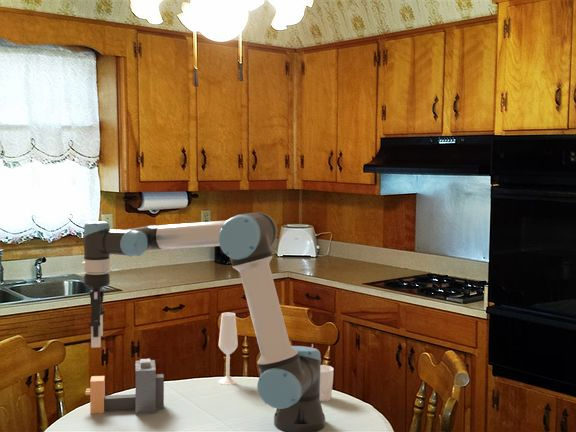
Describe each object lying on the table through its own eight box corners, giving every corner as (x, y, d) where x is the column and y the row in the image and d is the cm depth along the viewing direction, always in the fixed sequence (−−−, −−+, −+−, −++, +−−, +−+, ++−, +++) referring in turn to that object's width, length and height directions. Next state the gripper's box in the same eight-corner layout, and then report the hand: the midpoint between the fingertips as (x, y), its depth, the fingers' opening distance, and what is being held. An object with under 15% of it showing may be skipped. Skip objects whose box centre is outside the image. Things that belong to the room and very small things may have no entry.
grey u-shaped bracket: (154, 401, 232) (154, 355, 231) (155, 413, 221) (155, 365, 220) (135, 402, 231) (135, 356, 229) (135, 414, 220) (135, 366, 219)
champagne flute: (217, 384, 250) (218, 316, 248) (218, 378, 256) (219, 311, 254) (236, 384, 250) (237, 316, 248) (237, 378, 256) (238, 311, 254)
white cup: (331, 403, 233) (331, 372, 232) (306, 401, 235) (307, 371, 234) (334, 395, 241) (335, 365, 240) (311, 393, 242) (311, 364, 242)
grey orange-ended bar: (163, 404, 229) (163, 373, 229) (163, 409, 225) (163, 378, 224) (86, 408, 225) (86, 376, 224) (85, 413, 220) (85, 381, 219)
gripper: (86, 266, 231) (87, 331, 232) (80, 279, 206) (81, 352, 208) (111, 265, 232) (111, 330, 234) (108, 279, 208) (108, 351, 210)
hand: (97, 341), depth 221 cm, fingers open, 13 cm apart
